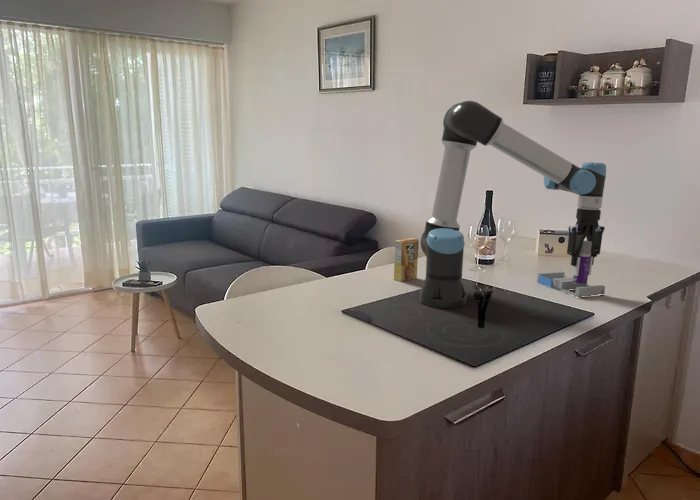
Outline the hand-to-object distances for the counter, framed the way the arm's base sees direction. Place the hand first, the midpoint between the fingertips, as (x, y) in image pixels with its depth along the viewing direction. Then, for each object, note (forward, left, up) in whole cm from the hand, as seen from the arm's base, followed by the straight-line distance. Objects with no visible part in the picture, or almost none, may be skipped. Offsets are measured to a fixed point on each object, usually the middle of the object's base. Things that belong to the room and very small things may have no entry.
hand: (580, 274), depth 186 cm
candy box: (-51, +34, -7) cm, 62 cm away
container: (0, 0, -4) cm, 4 cm away
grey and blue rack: (+1, +6, -7) cm, 9 cm away
